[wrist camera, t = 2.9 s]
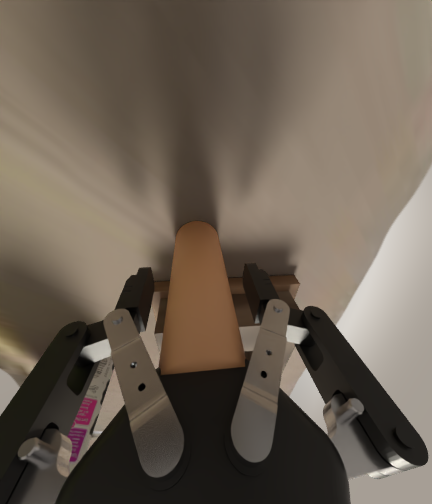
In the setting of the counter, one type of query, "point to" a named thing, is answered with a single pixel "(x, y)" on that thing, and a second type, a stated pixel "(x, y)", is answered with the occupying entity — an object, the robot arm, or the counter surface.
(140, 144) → the counter surface
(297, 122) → the counter surface
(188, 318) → the wooden pin
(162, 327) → the socket block
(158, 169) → the counter surface
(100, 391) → the candy bar box
